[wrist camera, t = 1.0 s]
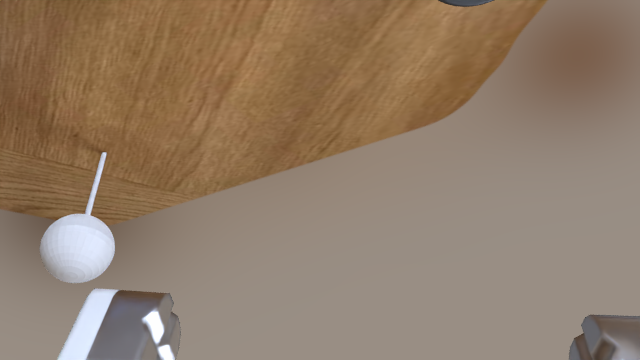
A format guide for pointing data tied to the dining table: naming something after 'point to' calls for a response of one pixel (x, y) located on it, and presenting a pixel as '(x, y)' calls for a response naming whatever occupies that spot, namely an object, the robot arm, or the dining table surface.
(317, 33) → the dining table surface
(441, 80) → the dining table surface
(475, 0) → the jar
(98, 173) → the lollipop
